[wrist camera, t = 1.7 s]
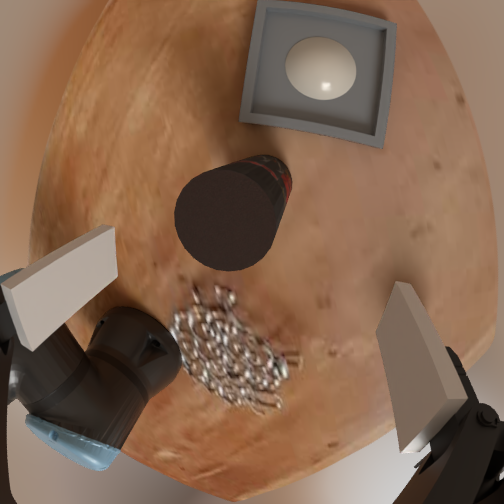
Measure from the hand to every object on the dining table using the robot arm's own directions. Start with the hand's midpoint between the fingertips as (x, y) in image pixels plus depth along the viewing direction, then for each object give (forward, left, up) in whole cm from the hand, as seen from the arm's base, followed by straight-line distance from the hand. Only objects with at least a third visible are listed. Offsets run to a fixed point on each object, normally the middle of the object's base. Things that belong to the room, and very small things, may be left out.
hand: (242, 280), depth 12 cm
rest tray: (+2, +14, -19) cm, 24 cm away
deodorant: (-2, +1, -19) cm, 19 cm away
